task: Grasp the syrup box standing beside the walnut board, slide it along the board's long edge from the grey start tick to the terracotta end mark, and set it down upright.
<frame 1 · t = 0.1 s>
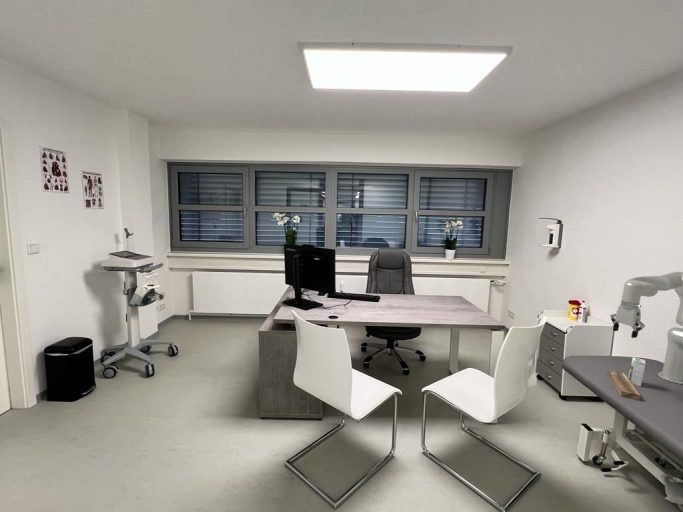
hand: (624, 334, 186), 31 cm above the table, tool pointing down, fingers open, 9 cm apart
syrup box: (634, 383, 195), on the table
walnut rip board: (622, 386, 190), on the table
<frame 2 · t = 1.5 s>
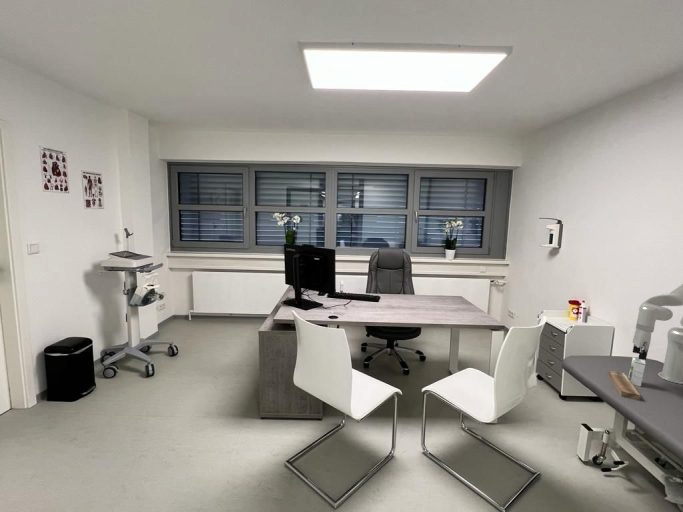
hand: (638, 356, 192), 17 cm above the table, tool pointing down, fingers open, 9 cm apart
nothing on the table moved.
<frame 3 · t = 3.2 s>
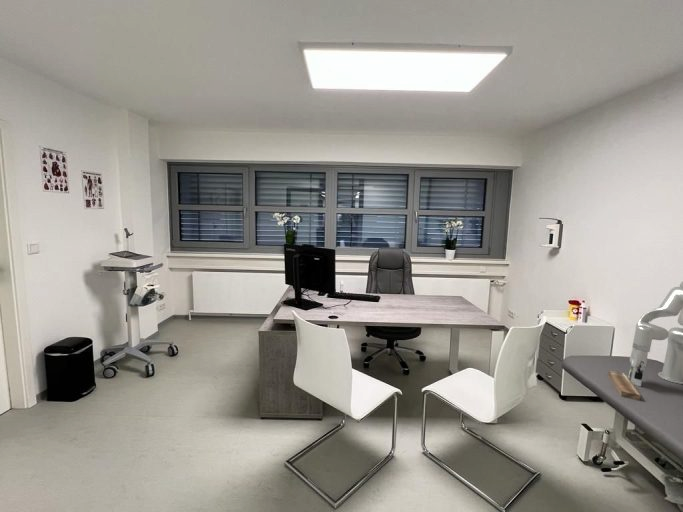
hand: (635, 376, 194), 5 cm above the table, tool pointing down, fingers closed on syrup box, 6 cm apart
syrup box: (634, 383, 195), on the table, touching gripper
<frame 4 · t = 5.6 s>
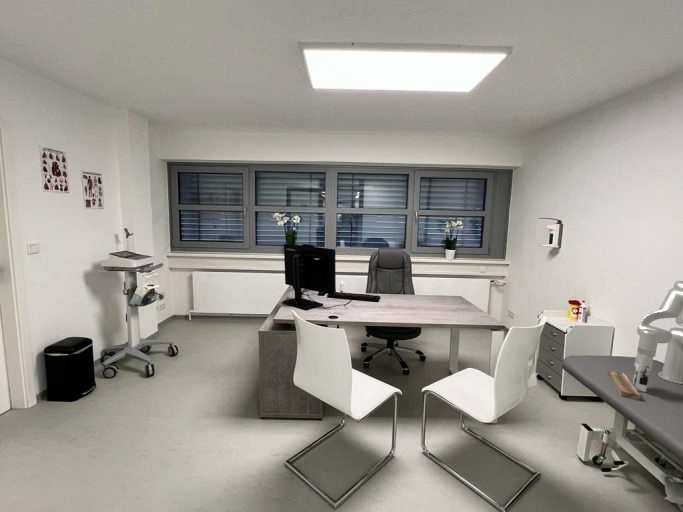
hand: (640, 381, 187), 5 cm above the table, tool pointing down, fingers closed on syrup box, 6 cm apart
syrup box: (639, 389, 188), on the table, touching gripper
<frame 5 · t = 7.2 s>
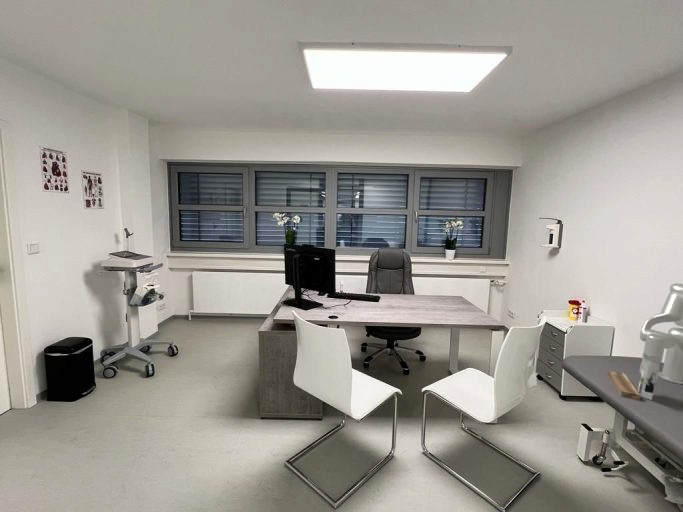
hand: (646, 388, 180), 5 cm above the table, tool pointing down, fingers closed on syrup box, 6 cm apart
syrup box: (644, 396, 181), on the table, touching gripper
when the fingers open (5 cm above the table, at t = 8.3 s): syrup box stays where it is, on the table.
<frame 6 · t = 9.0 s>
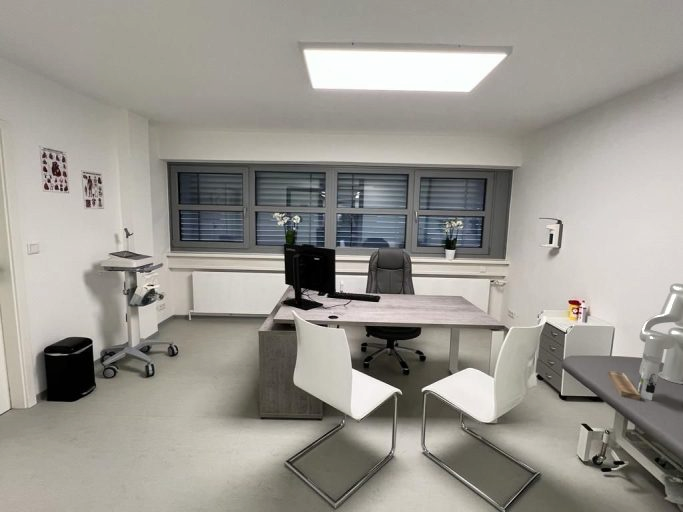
hand: (646, 387, 180), 5 cm above the table, tool pointing down, fingers open, 9 cm apart
syrup box: (644, 397, 181), on the table
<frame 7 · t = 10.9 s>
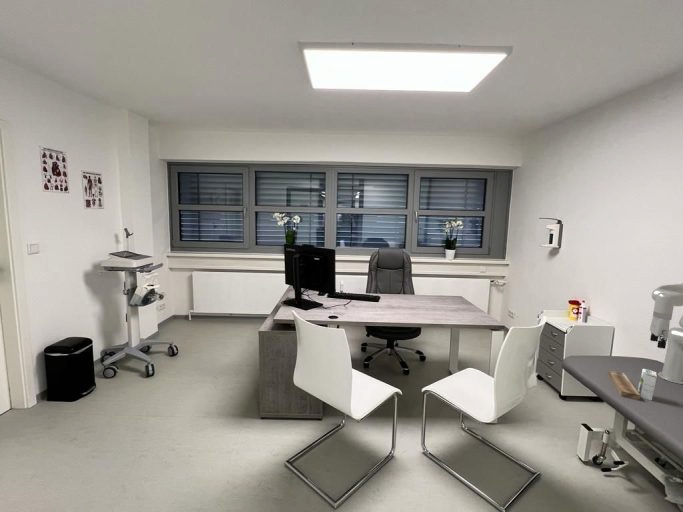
hand: (657, 344, 187), 26 cm above the table, tool pointing down, fingers open, 9 cm apart
nothing on the table moved.
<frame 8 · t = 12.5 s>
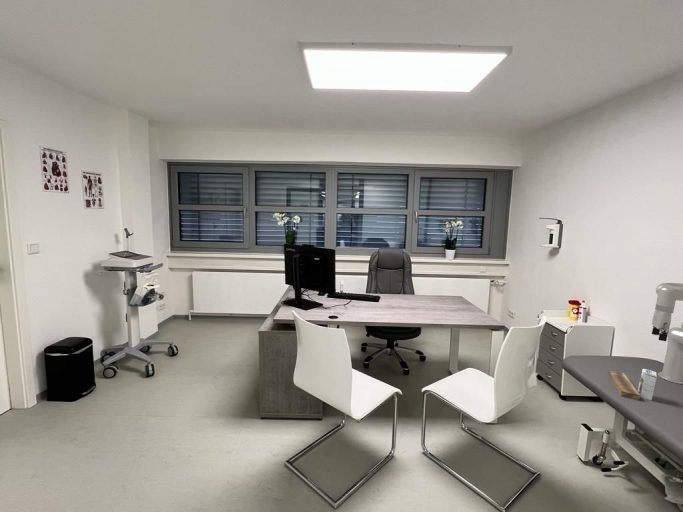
hand: (658, 337, 191), 28 cm above the table, tool pointing down, fingers open, 9 cm apart
nothing on the table moved.
at the end: syrup box 0.6 cm from the target spot, on the table; syrup box tilted 0°; the gripper is holding nothing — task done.
